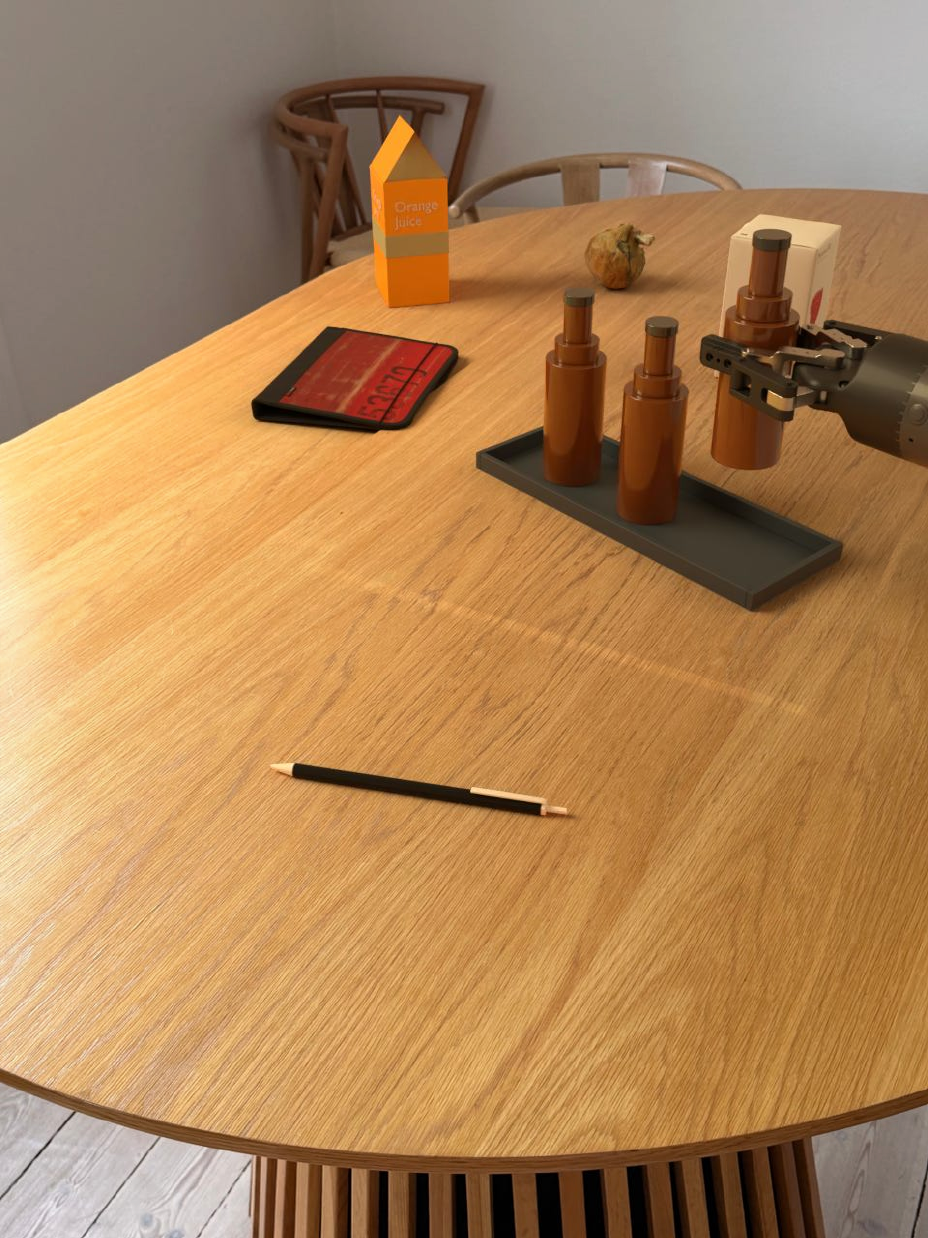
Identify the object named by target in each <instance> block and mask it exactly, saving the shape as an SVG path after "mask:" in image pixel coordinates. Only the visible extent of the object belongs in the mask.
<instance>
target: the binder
mask: <svg viewBox="0 0 928 1238" xmlns="http://www.w3.org/2000/svg"><path fill="white" fill-rule="evenodd" d="M459 358H460V356H459V349H458V348H457V347H455V346H453V345H450V344H445V343H438V342H432V341H425V340H419V339H415V338H414V339H413V338H408V337H403V336H398V335H392V334H386V333H378V332H374V331H366V330H361V329H360V330H359V329H353V328H349V327H339V326H330V325H329V326H326V327H324V329H323V330H322V331H321V332H320V333H319V334H318V335H316V337H315V338H314V339H313V340H312V341H311V342H310V343H309V344H307V346H306V347H305V348H303V350H301V352H300V353H299V354H298V355H296V357H295V358H294V359H292V361H291V362H290V363H288V365H286V367H285V368H284V369H283V370H282V371H281V372H279V374H278V375H277V376H276V377H275V378H274V379H272V381H271V382H269V384H267V386H265V388H264V389H263V390H262V391H260V393H259V394H257V395H256V396H255V397H254V398H253V399H252V400H251V401H250V406H251V412H252V416H253V419H255V420H256V421H264V422H265V421H266V422H267V421H268V422H285V423H300V424H311V425H320V426H321V425H322V426H333V427H346V428H356V429H357V428H358V429H365V430H372V431H381V430H382V431H399V430H404V429H406V428H408V427H409V426H411V424H412V423H413V420H414V418H415V416H416V414H417V412H418V411H419V409H420V408H421V407H422V405H423V404H424V403H425V401H426V400H427V398H428V397H429V395H430V394H432V393H433V392H435V390H437V389H438V388H440V387H441V386H442V385H444V384H445V382H446V381H447V380H448V379H449V376H450V374H451V373H452V371H453V370H454V368H455V367H456V365H457V363H458V361H459Z"/></svg>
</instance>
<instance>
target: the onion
mask: <svg viewBox="0 0 928 1238" xmlns="http://www.w3.org/2000/svg"><path fill="white" fill-rule="evenodd" d="M618 225H619V226H618V227H616V228H610V229H606V230H604V231H602V232H598V233H597V234H595V235H593V236H592V237H591V238H590V239H589V241H588V243H587V246H586V248H585V250H584V254H583V255H584V256H583V257H584V262H585V265H586V267H587V269H588V270H589V272H590V273H591V275H592V276H593V277H594V279H596V281H598V282H599V284H600V285H601V286H604V287H605V288H608V289H614V290H619V289H625V288H628V287H631V286H632V285H633V284H634V283H635V282H636V281H637V280H638V279H639V278H640V277H641V275H642V273H643V272H644V267H645V265H646V256H645V251H644V248H645V247H644V246H646V247H650V246H651V245H652V244H653V243H654V242H655V241H656V238H655V236H654V235H653V234H648V233H647V234H645V233H644V232H643V231H642V229H640V228H639V227H637V226H636V225H634V223H632V224H631V223H628V222H627V223H626V222H622V223H619V224H618ZM639 245H641V246H643V247H640V246H639Z"/></svg>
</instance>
